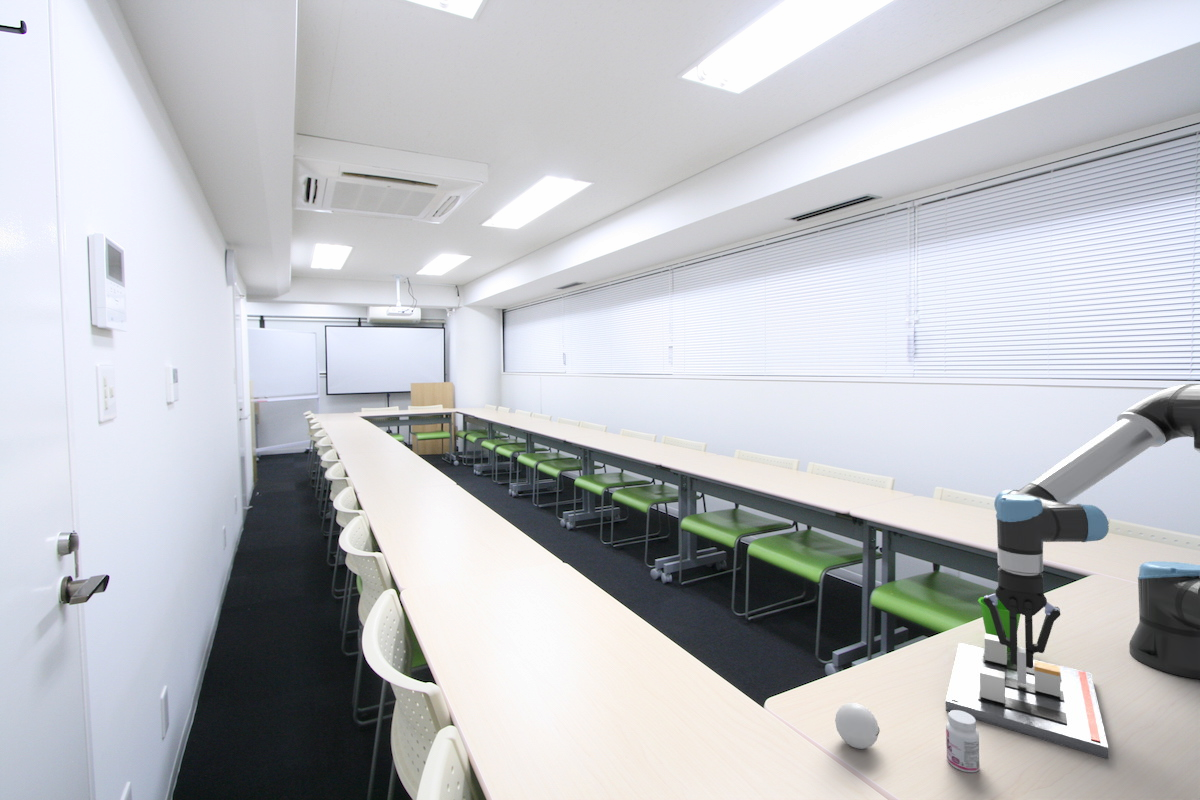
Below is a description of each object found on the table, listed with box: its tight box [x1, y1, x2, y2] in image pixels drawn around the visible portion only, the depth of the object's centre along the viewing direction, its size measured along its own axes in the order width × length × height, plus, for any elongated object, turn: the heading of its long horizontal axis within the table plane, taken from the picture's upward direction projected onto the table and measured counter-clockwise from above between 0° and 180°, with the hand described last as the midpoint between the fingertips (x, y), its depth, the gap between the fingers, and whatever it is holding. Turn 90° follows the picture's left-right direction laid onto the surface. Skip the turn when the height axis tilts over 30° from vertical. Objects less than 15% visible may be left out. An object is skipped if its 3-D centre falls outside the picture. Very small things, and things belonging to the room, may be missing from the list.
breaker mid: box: [1034, 660, 1061, 697], centre depth 109 cm, size 4×3×5 cm
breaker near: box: [980, 666, 1005, 703], centre depth 108 cm, size 4×3×5 cm
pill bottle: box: [945, 710, 980, 773], centre depth 93 cm, size 5×5×8 cm
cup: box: [977, 596, 1021, 653], centre depth 132 cm, size 9×9×11 cm
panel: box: [945, 642, 1109, 759], centre depth 112 cm, size 24×30×2 cm
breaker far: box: [984, 632, 1008, 665], centre depth 122 cm, size 4×3×5 cm
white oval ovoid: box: [834, 702, 881, 750], centre depth 100 cm, size 10×7×7 cm
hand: (1021, 680), depth 112 cm, fingers closed
